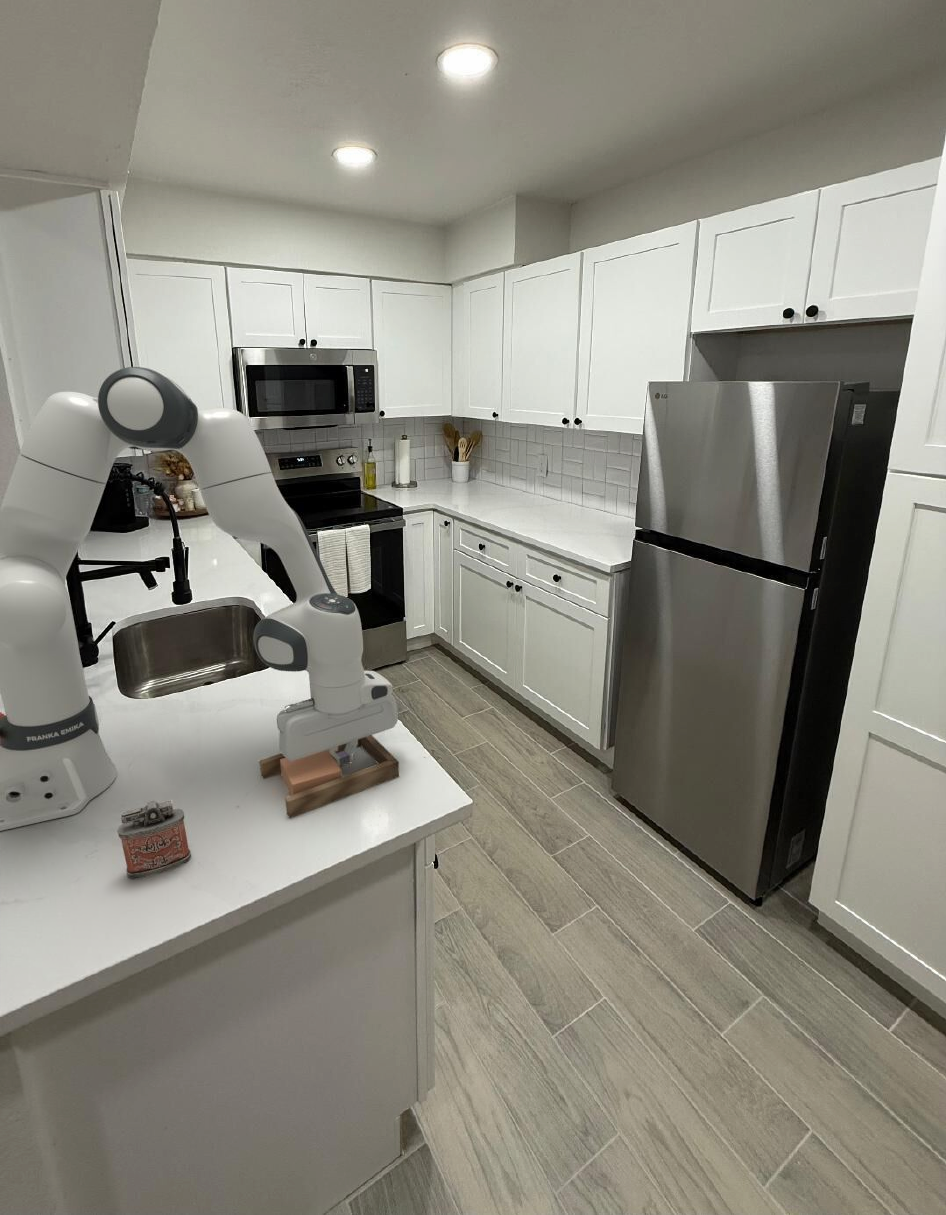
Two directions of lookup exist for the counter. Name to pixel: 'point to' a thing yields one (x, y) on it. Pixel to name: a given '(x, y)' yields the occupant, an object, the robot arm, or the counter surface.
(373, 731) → the robot arm
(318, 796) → the walnut cubby
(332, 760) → the terracotta block
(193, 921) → the counter surface
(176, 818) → the lighter
